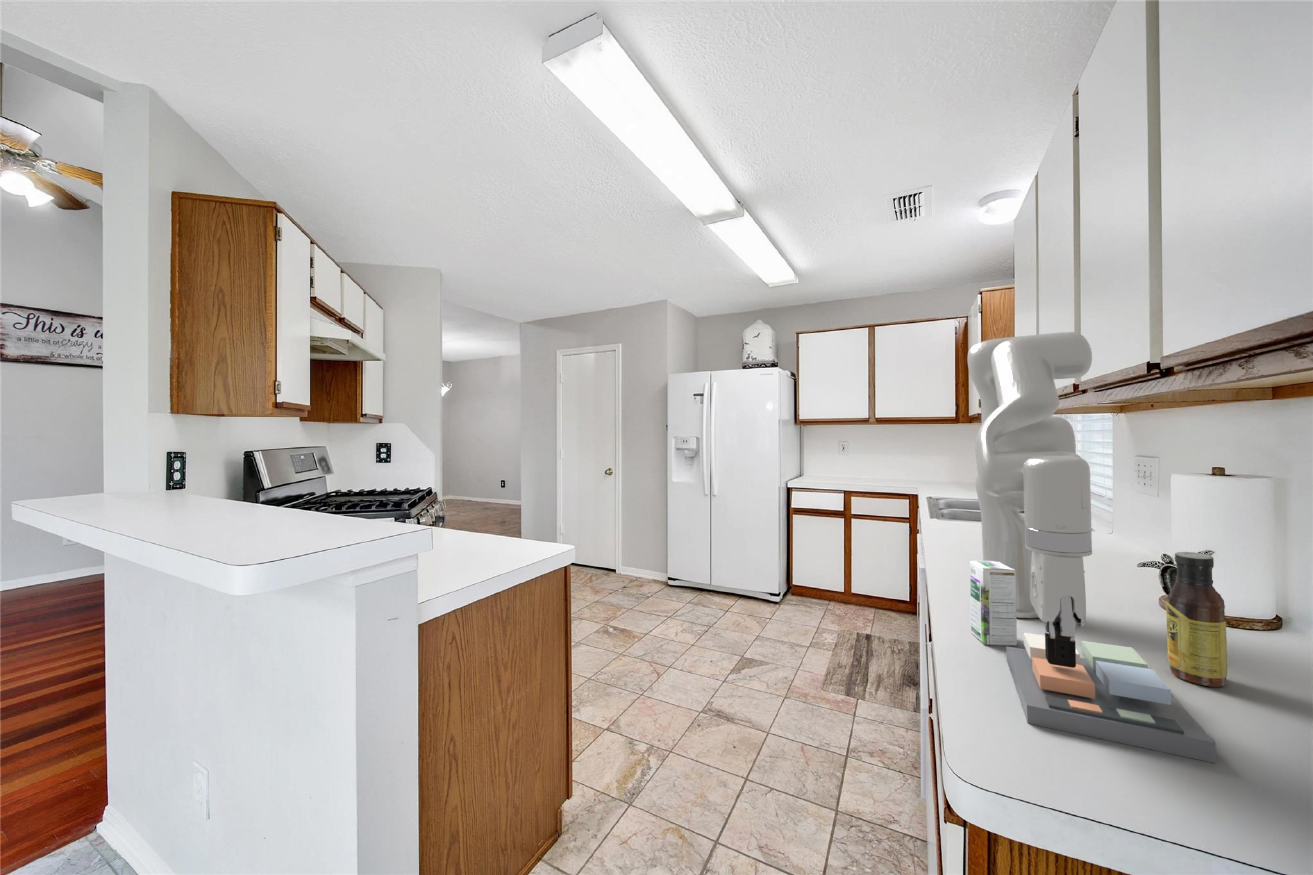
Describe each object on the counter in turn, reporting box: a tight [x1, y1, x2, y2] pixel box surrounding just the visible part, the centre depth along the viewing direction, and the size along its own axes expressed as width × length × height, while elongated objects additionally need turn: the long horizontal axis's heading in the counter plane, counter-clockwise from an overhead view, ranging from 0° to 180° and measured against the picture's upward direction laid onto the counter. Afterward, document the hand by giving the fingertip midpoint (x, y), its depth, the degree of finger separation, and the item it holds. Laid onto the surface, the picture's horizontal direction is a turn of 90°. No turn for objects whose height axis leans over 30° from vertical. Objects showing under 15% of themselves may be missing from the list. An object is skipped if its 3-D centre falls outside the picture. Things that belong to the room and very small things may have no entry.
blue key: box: [1096, 661, 1172, 705], centre depth 66 cm, size 6×6×2 cm
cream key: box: [1023, 632, 1081, 665], centre depth 77 cm, size 6×6×2 cm
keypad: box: [1005, 645, 1217, 764], centre depth 70 cm, size 20×18×3 cm
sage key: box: [1081, 640, 1149, 670], centre depth 73 cm, size 6×6×2 cm
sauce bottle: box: [1165, 551, 1228, 688], centre depth 75 cm, size 7×6×20 cm
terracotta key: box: [1032, 657, 1095, 699], centre depth 70 cm, size 6×6×2 cm
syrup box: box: [969, 560, 1018, 647], centre depth 92 cm, size 6×6×14 cm
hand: (1060, 663), depth 70 cm, fingers closed
